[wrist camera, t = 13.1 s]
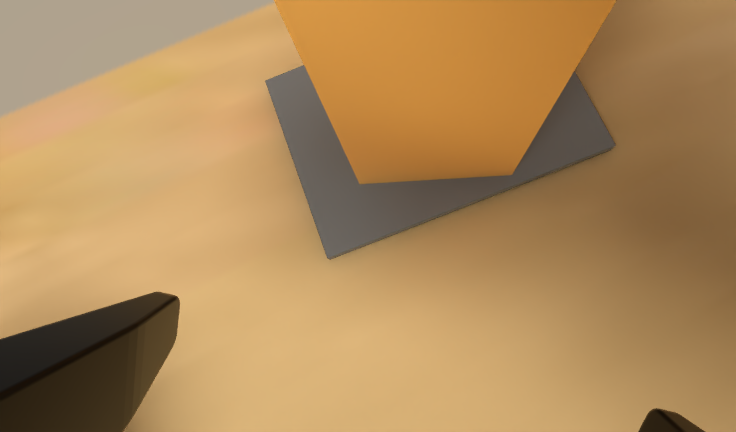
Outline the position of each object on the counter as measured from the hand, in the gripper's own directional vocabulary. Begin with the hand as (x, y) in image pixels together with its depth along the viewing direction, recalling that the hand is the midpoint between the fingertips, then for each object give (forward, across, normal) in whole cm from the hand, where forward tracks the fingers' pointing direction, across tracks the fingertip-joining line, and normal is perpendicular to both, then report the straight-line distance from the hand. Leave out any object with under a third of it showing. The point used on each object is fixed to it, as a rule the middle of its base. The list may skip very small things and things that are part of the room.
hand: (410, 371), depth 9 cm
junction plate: (+13, 0, -4) cm, 13 cm away
